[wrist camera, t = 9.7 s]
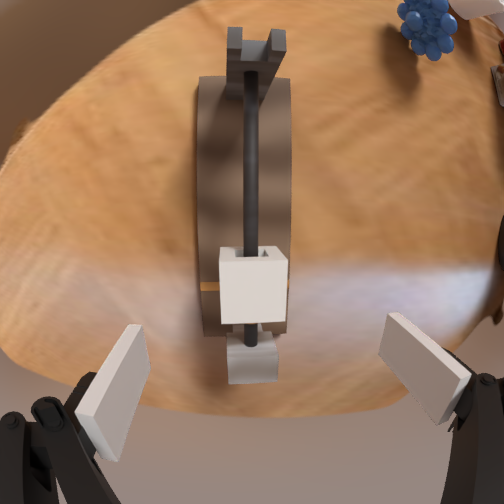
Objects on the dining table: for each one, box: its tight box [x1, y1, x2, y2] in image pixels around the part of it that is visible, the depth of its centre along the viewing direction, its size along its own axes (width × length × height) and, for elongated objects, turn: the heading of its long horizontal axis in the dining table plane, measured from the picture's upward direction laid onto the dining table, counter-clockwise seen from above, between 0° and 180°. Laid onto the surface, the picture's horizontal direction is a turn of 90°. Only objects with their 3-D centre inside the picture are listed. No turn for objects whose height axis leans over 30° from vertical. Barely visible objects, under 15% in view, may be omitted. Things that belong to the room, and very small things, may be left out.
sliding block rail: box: [197, 27, 292, 384], centre depth 24 cm, size 30×10×14 cm, turn 0°
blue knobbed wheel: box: [397, 0, 457, 61], centre depth 20 cm, size 12×7×12 cm, turn 24°
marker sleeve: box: [219, 246, 288, 324], centre depth 23 cm, size 5×5×5 cm
